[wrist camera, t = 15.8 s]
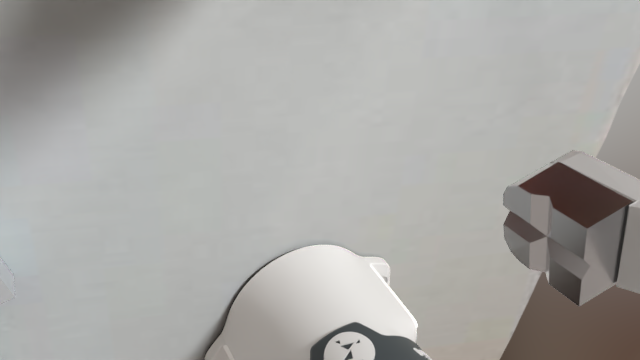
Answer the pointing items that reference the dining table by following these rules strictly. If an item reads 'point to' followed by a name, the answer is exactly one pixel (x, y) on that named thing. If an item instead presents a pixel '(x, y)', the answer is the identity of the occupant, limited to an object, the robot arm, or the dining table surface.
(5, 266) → the dock
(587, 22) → the dining table surface
